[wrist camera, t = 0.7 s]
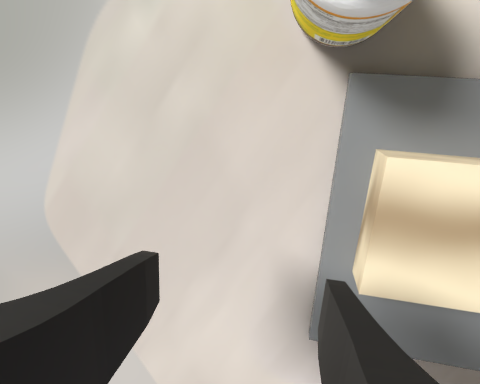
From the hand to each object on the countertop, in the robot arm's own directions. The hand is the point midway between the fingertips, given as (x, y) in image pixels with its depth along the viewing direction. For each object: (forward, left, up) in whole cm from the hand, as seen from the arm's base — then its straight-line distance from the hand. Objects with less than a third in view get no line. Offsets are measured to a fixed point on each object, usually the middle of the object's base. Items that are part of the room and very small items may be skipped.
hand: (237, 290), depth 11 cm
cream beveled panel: (0, -10, -10) cm, 14 cm away
